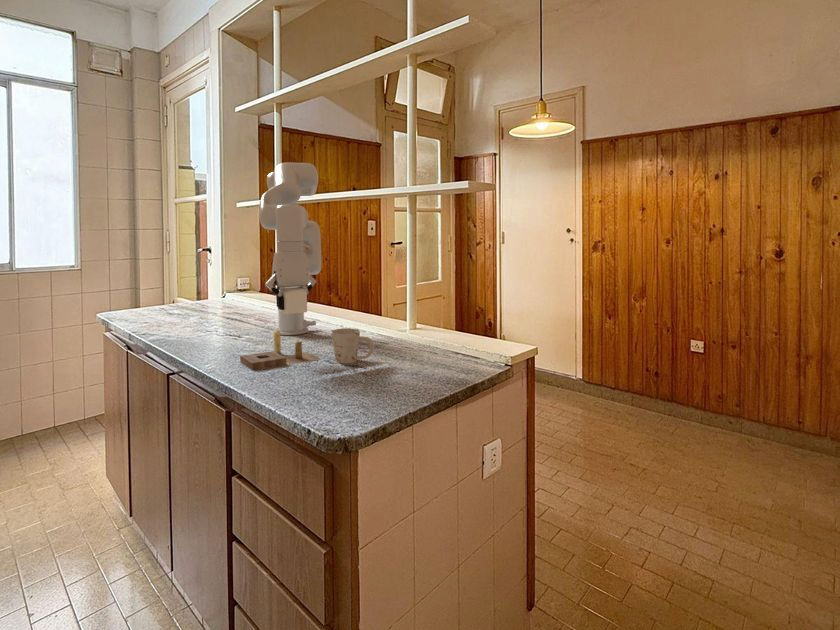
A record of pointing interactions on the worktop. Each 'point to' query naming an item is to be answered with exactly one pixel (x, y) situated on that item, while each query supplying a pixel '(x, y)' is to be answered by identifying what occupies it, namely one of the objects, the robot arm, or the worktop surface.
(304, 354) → the tile
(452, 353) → the worktop surface
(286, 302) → the block
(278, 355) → the socket tile
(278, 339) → the brass pin
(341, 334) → the mug
